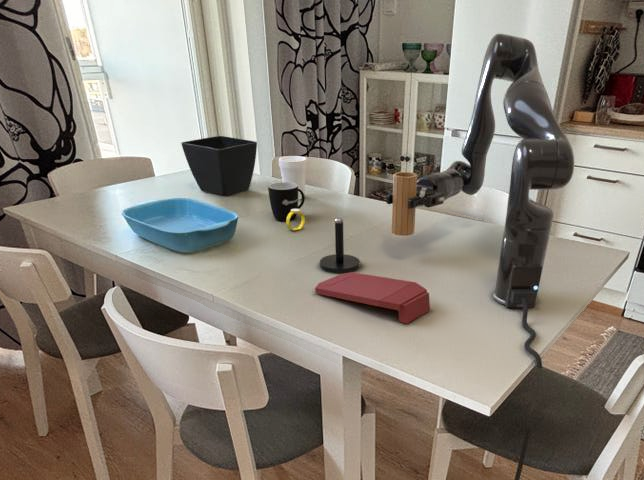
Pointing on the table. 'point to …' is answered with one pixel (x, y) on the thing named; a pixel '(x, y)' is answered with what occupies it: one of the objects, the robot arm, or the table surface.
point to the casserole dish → (182, 223)
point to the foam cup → (294, 171)
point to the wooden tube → (403, 203)
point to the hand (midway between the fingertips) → (398, 202)
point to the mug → (284, 199)
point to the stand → (339, 255)
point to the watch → (290, 217)
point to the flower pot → (221, 163)
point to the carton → (379, 293)
